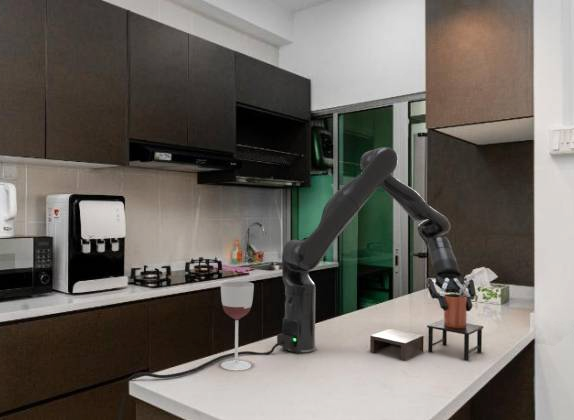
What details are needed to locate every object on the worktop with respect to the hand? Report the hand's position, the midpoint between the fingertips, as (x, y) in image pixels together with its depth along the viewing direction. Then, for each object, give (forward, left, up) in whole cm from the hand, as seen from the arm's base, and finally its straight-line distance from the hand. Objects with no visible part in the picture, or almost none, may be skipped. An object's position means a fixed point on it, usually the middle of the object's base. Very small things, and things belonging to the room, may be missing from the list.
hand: (457, 309), depth 141 cm
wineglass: (-56, +37, -14) cm, 68 cm away
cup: (+1, +1, -5) cm, 6 cm away
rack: (+1, +1, -13) cm, 13 cm away
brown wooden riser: (-12, +13, -13) cm, 22 cm away
